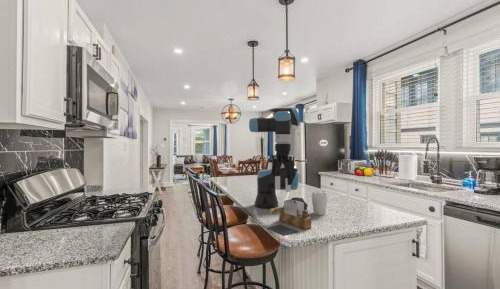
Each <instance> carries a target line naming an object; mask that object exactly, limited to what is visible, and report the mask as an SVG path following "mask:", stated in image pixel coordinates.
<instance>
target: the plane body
mask: <svg viewBox="0 0 500 289" xmlns="http://www.w3.org/2000/svg"><path fill="white" fill-rule="evenodd" d="M282 207H283V208H284V204H283V205H282ZM278 213H279V214H278V215H279V216H278V217H279V218H278V220H279V222H283V223H286V224H288V225H291V226H294V227H297V228H299V229H302V230H310V229H312V217H311V216H309V214H308V213H309V211H308V209H307V210H303V211H302V216H297V217H296V216H293V215H290V214H287V213H284V211H281V212H278Z"/></svg>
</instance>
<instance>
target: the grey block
mask: <svg viewBox="0 0 500 289" xmlns="http://www.w3.org/2000/svg"><path fill="white" fill-rule="evenodd" d="M283 205H284V213H287V214H290V215H293V216H296V217H297V216H302V211H303V210H304V203H303V202H299V201H295V200H291V199H287V200H283Z"/></svg>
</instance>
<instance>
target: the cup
mask: <svg viewBox="0 0 500 289" xmlns="http://www.w3.org/2000/svg"><path fill="white" fill-rule="evenodd" d="M328 195H329V194H328V192H327V191H324V190H323V191H322V190H313V191H311V203H312V204H311V205H312V211H313V214H315V215H320V216H322V215H324V216H325V215H326V214H327V207H328V198H329V196H328Z"/></svg>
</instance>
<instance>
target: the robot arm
mask: <svg viewBox="0 0 500 289" xmlns="http://www.w3.org/2000/svg"><path fill="white" fill-rule="evenodd" d="M248 126H249V127H248V128H249V132H251V133H274V143H275V145H274V151H275V152H276V153H275V154H271V158H272V159H271V160H272V162H271V168H268V169H261V170H258V171H257V176H256V177H257V178H256V179H257V183H256V184H257V188H256V189H257V191H256V192H257V193H256V197H255V200H254V207H256V208H260V209H261V208H262V209H270V208H274V209H275V208H279V201H278V196H277V194H276V191H277V190H280V191H283V190H284V191H285V193H288V192H290V193H291V192H292V191H296V190H298V189H299V182H300V173H301V172H300V171H299V170H298V167H297V166H296V130H297V129H298V128H299V127H298V126H301V122H300V113H299V108H297V107H275V108H270V109H267V110H265V111H263V112H262V114H261V115H260V116H259V117H253V118H250V119H249V121H248Z"/></svg>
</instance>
